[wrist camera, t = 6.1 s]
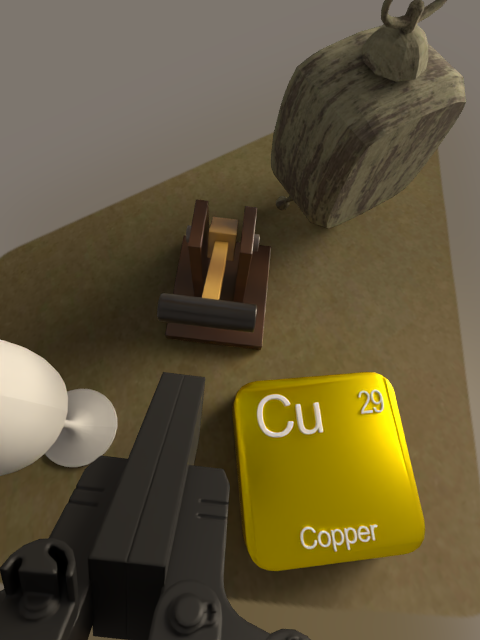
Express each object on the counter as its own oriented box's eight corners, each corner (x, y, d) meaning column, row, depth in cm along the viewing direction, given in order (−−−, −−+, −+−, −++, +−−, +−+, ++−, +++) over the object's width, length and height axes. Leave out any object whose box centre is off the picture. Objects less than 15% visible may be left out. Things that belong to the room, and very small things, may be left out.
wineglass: (45, 386, 37) (-151, 306, 17) (123, 387, 37) (21, 310, 17) (30, 469, 34) (-223, 487, 14) (114, 469, 34) (-17, 487, 15)
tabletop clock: (352, 160, 49) (479, -109, 26) (395, 211, 47) (578, -35, 23) (260, 203, 46) (309, -61, 22) (301, 260, 43) (404, 31, 20)
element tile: (244, 561, 33) (249, 578, 28) (230, 390, 38) (232, 381, 33) (407, 540, 34) (436, 553, 30) (372, 378, 39) (392, 368, 35)
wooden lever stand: (260, 349, 39) (280, 303, 27) (166, 338, 39) (145, 286, 27) (269, 251, 44) (290, 174, 32) (184, 240, 43) (173, 158, 31)
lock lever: (252, 342, 23) (257, 312, 22) (157, 330, 23) (156, 300, 22) (257, 247, 33) (261, 222, 31) (189, 239, 33) (190, 213, 31)
